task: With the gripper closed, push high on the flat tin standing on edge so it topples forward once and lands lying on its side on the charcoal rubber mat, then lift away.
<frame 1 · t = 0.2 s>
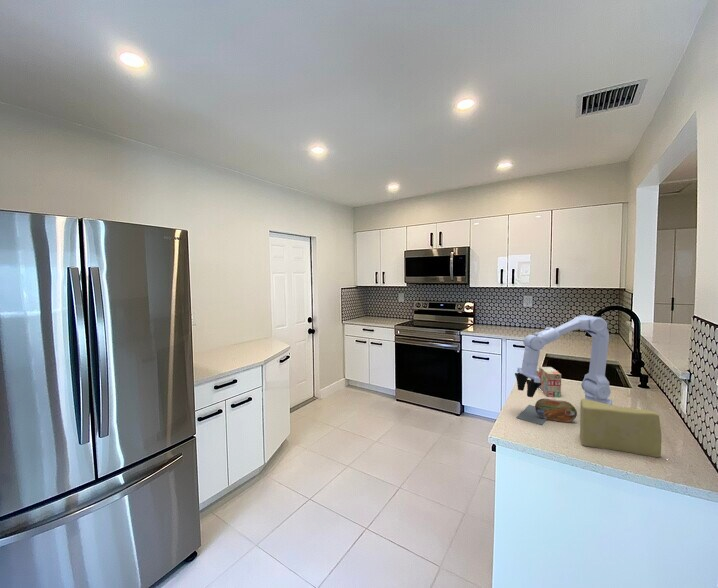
hand: (525, 393, 137), 11 cm above the counter, tool pointing down, fingers open, 7 cm apart
tin: (554, 419, 135), on the counter, touching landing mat
cheese: (618, 448, 112), on the counter
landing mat: (535, 414, 140), on the counter
printed cardboard box: (546, 390, 170), on the counter
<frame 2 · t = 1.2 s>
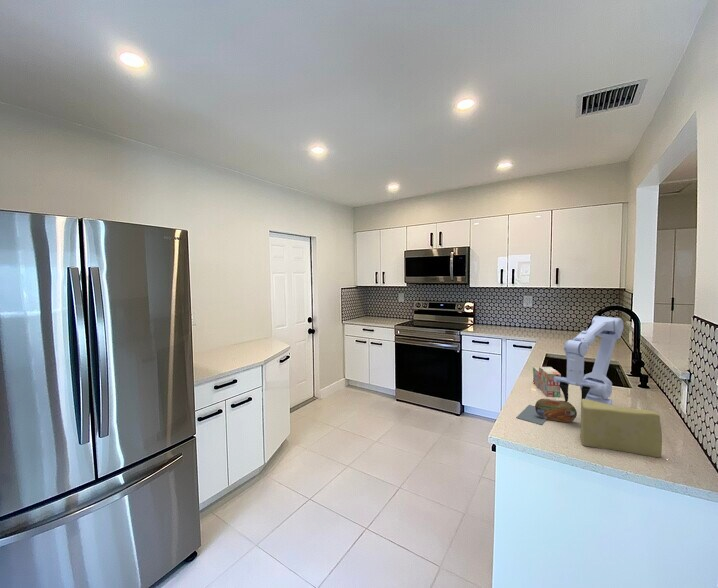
hand: (574, 402, 129), 9 cm above the counter, tool pointing down, fingers open, 5 cm apart
nothing on the counter moved.
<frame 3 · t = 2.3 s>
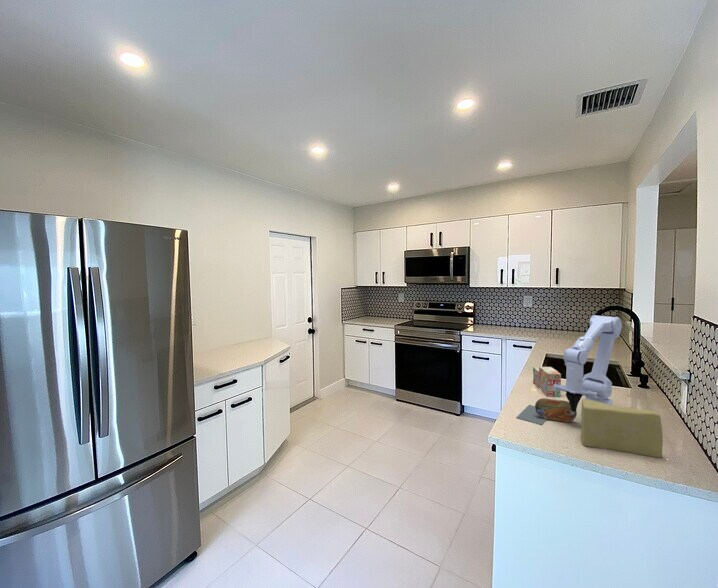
hand: (573, 410, 130), 6 cm above the counter, tool pointing down, fingers closed
tin: (554, 419, 135), on the counter, touching gripper, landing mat
everything else where it was.
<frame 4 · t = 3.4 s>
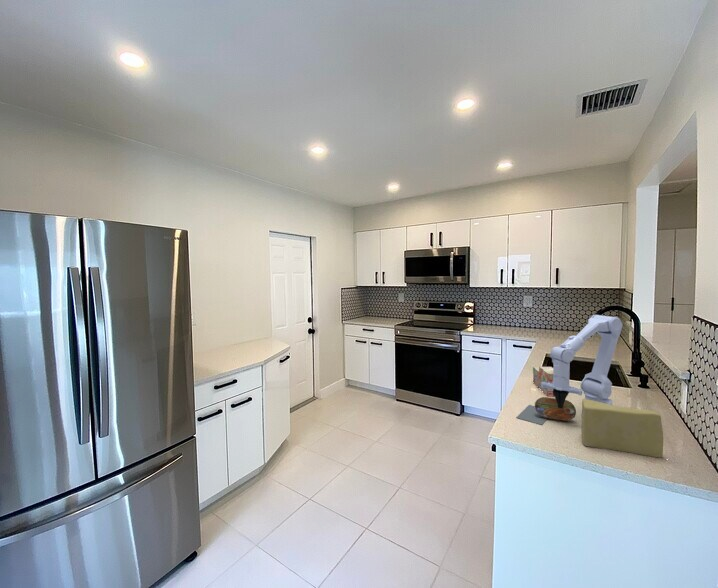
hand: (560, 407, 133), 6 cm above the counter, tool pointing down, fingers closed
tin: (554, 419, 135), on the counter, touching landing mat
everything else where it was.
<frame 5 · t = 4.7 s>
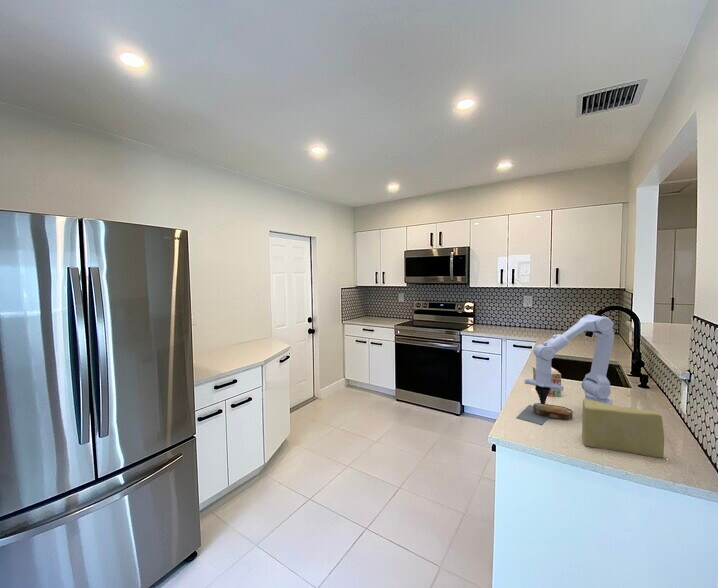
hand: (543, 403, 137), 6 cm above the counter, tool pointing down, fingers closed
tin: (554, 416, 135), point 1 cm above the counter, touching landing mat
everything else where it was.
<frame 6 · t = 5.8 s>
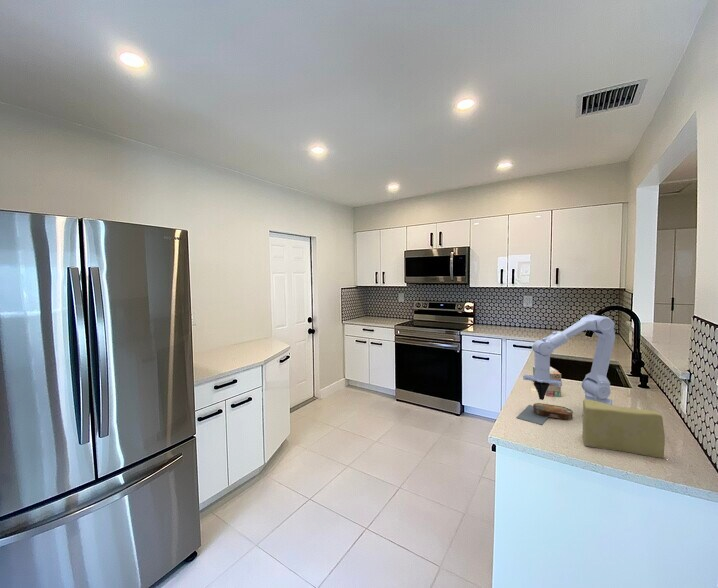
hand: (541, 399, 138), 8 cm above the counter, tool pointing down, fingers closed
nothing on the counter moved.
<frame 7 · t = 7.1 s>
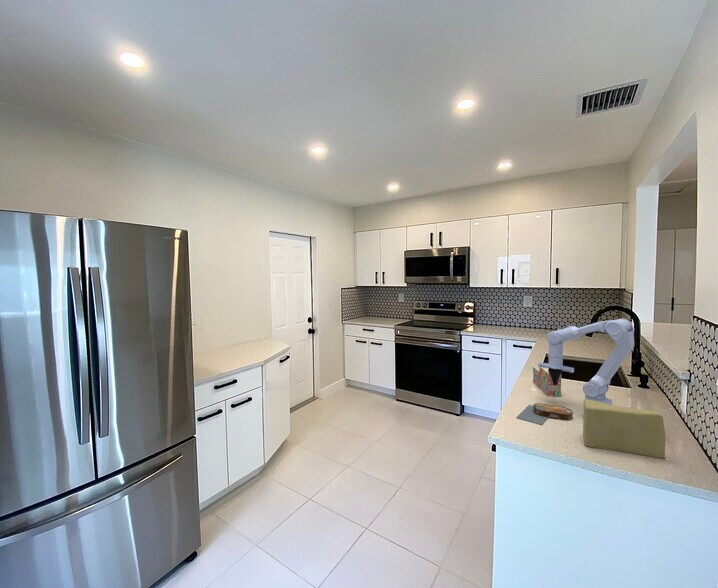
hand: (555, 384, 151), 9 cm above the counter, tool pointing down, fingers closed
nothing on the counter moved.
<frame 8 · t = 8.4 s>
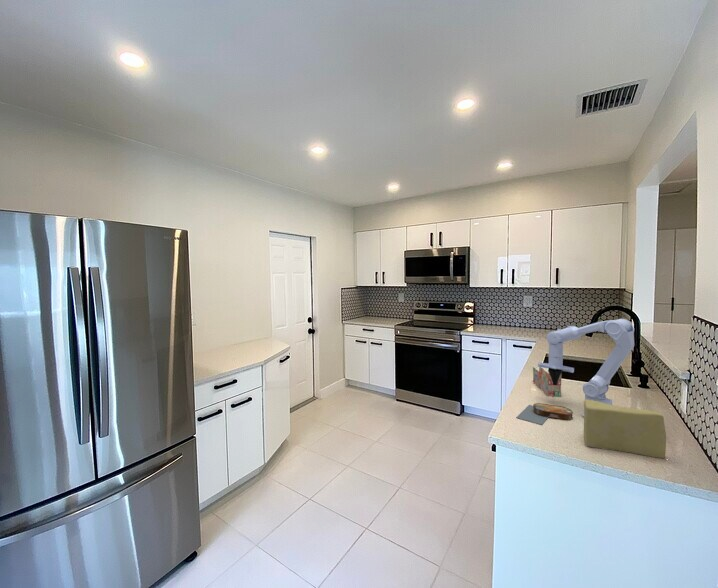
hand: (555, 384, 151), 9 cm above the counter, tool pointing down, fingers closed
at the end: tin tilted 85°; tin touching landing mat, counter; tin inside the target area (4.3 cm from its centre), point 1.2 cm above the counter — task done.
